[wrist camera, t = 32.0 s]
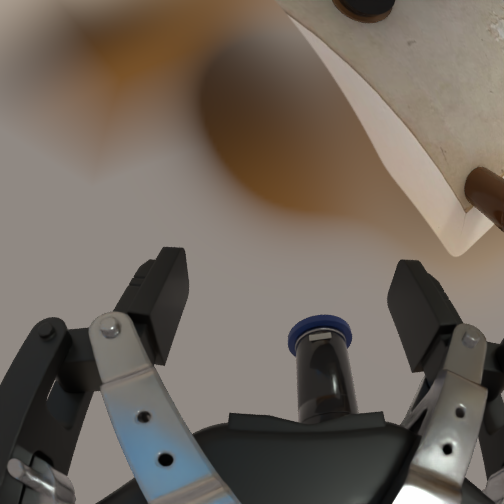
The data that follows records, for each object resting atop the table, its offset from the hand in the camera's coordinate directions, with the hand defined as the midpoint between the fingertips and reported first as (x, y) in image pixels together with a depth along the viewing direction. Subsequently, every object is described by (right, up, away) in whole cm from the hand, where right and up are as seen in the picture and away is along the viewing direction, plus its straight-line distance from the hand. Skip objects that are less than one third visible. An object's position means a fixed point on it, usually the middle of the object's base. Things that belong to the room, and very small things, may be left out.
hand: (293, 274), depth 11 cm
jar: (+33, +11, +24) cm, 42 cm away
